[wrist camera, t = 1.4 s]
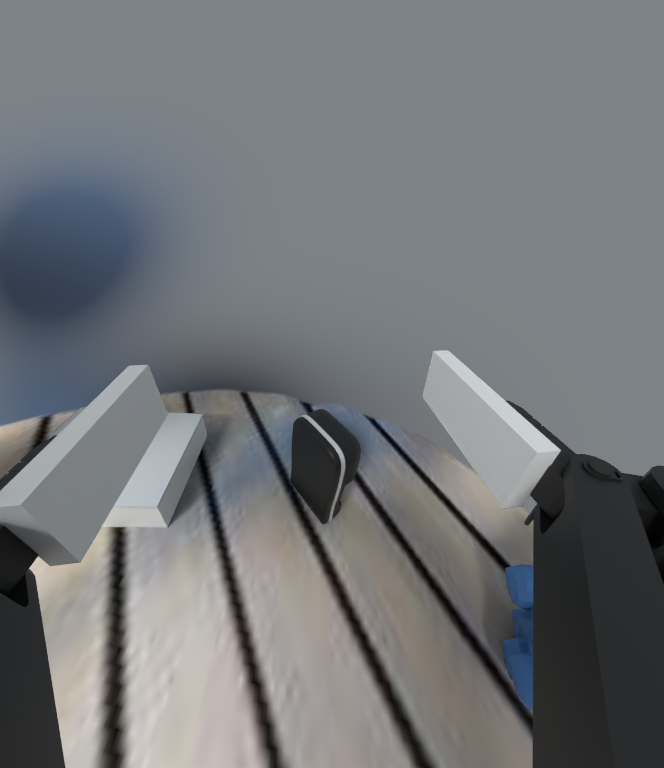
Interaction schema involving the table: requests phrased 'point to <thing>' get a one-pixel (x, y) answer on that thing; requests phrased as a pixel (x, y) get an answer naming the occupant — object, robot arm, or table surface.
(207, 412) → the table surface
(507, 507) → the robot arm
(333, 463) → the battery charger
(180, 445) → the stand
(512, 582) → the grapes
